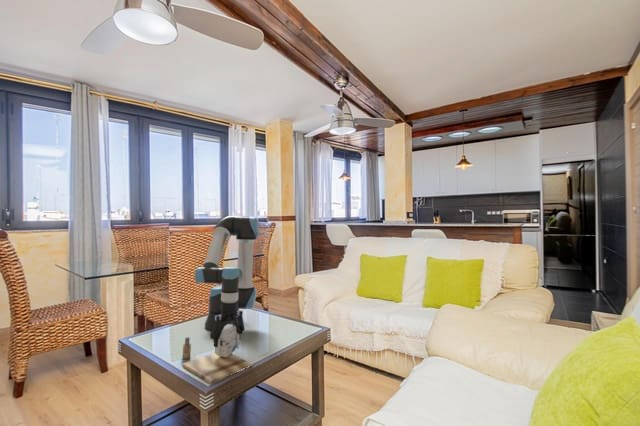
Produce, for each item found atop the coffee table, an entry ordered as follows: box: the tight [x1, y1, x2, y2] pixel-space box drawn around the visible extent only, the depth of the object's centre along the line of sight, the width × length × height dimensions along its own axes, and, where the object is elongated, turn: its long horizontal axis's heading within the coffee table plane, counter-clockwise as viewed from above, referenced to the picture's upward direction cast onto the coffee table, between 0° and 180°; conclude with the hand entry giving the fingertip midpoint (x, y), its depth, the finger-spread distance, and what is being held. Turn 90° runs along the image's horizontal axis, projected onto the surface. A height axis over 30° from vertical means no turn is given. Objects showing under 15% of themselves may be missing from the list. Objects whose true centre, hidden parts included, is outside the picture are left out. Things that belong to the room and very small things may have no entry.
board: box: [182, 352, 253, 384], centre depth 137 cm, size 20×21×1 cm
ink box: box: [217, 324, 237, 357], centre depth 146 cm, size 9×5×12 cm, turn 168°
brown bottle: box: [182, 336, 192, 361], centre depth 144 cm, size 3×3×9 cm
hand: (227, 350), depth 146 cm, fingers closed on ink box, 9 cm apart
